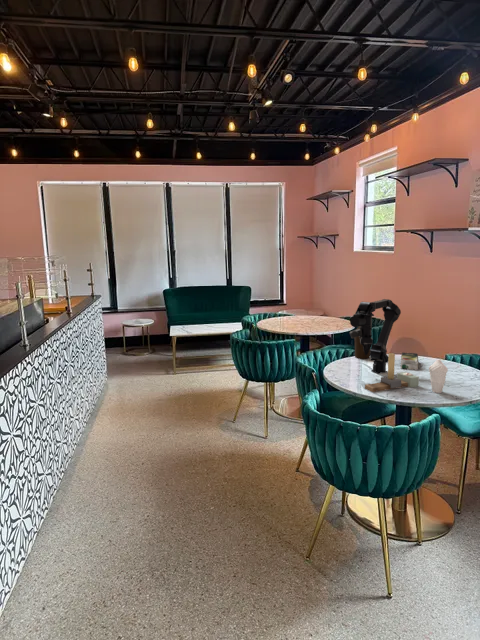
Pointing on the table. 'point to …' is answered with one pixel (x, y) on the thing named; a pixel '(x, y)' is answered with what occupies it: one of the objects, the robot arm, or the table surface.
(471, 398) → the table surface
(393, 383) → the grey block with handle
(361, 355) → the olive oil
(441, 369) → the soft serve ice cream cone
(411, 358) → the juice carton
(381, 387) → the rail
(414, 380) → the gauge cabinet
